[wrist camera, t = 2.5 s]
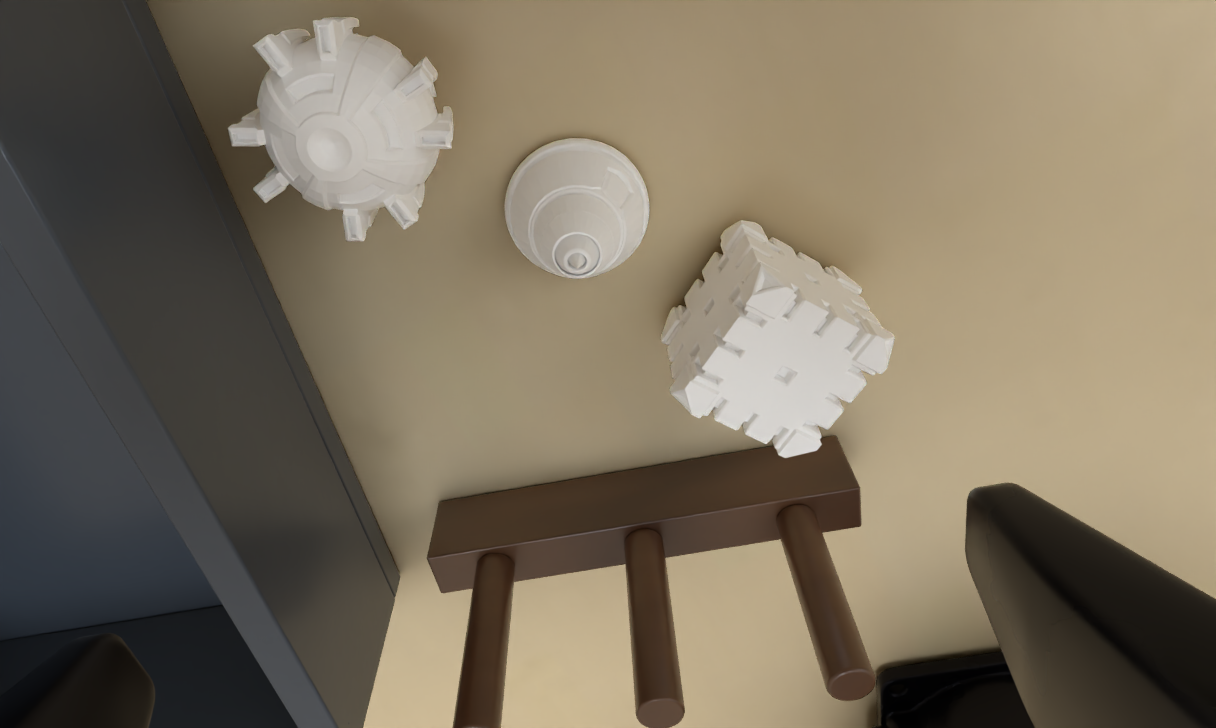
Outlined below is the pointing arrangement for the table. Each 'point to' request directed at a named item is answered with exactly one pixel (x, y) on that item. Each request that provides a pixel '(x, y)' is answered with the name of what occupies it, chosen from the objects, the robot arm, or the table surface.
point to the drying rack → (651, 560)
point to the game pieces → (570, 231)
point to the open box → (162, 403)
